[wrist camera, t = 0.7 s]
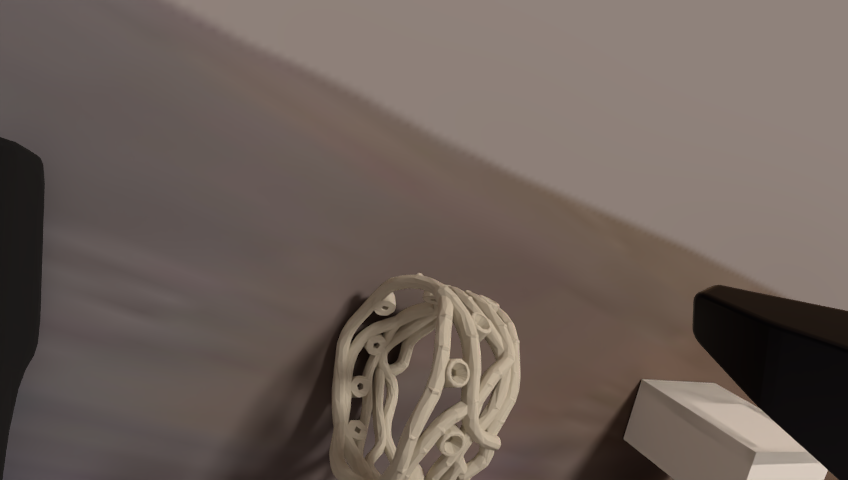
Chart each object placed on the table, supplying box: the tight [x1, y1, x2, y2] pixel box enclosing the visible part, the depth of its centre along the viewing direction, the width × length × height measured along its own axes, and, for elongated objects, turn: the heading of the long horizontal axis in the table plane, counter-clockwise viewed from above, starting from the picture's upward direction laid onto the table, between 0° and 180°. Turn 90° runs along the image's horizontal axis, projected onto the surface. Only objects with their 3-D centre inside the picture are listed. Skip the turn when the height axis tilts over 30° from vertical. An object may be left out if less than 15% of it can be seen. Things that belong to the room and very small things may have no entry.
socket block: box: [623, 379, 828, 480], centre depth 30 cm, size 4×6×7 cm, turn 76°
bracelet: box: [329, 273, 521, 480], centre depth 22 cm, size 4×8×8 cm, turn 151°
